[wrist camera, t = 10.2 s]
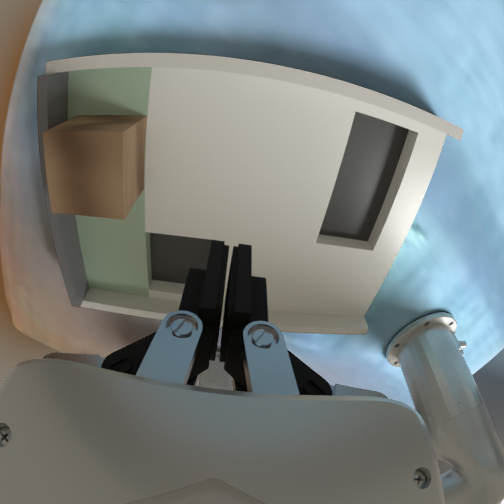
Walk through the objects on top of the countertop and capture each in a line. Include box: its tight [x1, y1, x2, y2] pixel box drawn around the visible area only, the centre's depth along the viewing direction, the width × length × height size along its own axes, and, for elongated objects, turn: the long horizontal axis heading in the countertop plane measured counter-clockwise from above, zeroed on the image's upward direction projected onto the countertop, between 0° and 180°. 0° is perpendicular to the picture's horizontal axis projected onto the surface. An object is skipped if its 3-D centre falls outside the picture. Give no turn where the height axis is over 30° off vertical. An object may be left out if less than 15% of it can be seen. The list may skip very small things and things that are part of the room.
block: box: [43, 115, 147, 220], centre depth 19 cm, size 6×6×5 cm
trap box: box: [37, 53, 464, 335], centre depth 24 cm, size 32×24×5 cm
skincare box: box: [199, 351, 233, 390], centre depth 36 cm, size 6×4×12 cm
